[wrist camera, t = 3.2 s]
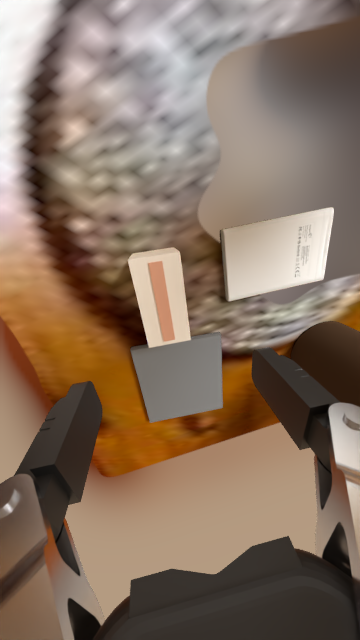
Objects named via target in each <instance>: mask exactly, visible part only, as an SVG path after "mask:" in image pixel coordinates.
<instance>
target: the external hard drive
mask: <svg viewBox="0 0 360 640" xmlns="http://www.w3.org/2000/svg"><path fill="white" fill-rule="evenodd" d="M333 215H334V210H333V207H332V208H324V209H320V210H314V211H309V212H304V213H299V214H294V215H290V216H285V217H280V218H275V219H270V220H265V221H261V222H256V223H251V224H246V225H241V226H236V227H231V228H226V229H222V230H220V243H221V244H222V255H223V268H224V281H225V294H226V300H227V301H233V300H238V299H242V298H246V297H251V296H255V295H259V294H264V293H268V292H272V291H277V290H281V289H285V288H290V287H294V286H298V285H303V284H307V283H312V282H316V281H321V280H323V278H324V273H325V266H326V259H327V253H328V246H329V240H330V234H331V227H332V220H333Z"/></svg>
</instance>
